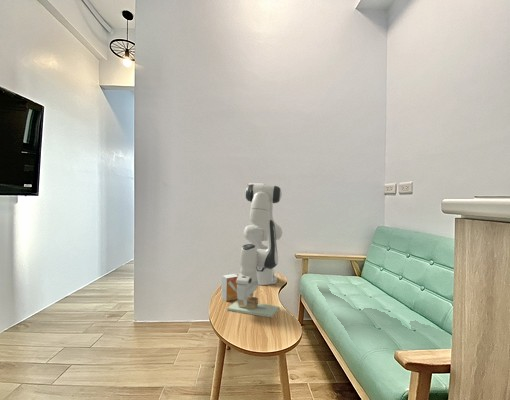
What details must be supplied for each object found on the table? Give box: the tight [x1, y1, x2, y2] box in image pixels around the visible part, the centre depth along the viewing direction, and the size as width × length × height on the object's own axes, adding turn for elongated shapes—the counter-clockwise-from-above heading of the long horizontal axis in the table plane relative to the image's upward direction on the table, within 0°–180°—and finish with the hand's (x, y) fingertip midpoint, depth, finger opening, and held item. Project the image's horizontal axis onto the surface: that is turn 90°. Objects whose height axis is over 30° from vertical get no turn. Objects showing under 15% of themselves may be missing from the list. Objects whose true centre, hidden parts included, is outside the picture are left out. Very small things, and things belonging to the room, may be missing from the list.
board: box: [227, 299, 280, 318], centre depth 152 cm, size 12×24×1 cm, turn 69°
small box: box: [221, 273, 239, 302], centre depth 167 cm, size 8×6×13 cm
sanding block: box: [237, 296, 259, 309], centre depth 152 cm, size 5×9×4 cm, turn 70°
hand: (248, 302), depth 152 cm, fingers closed on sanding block, 5 cm apart
